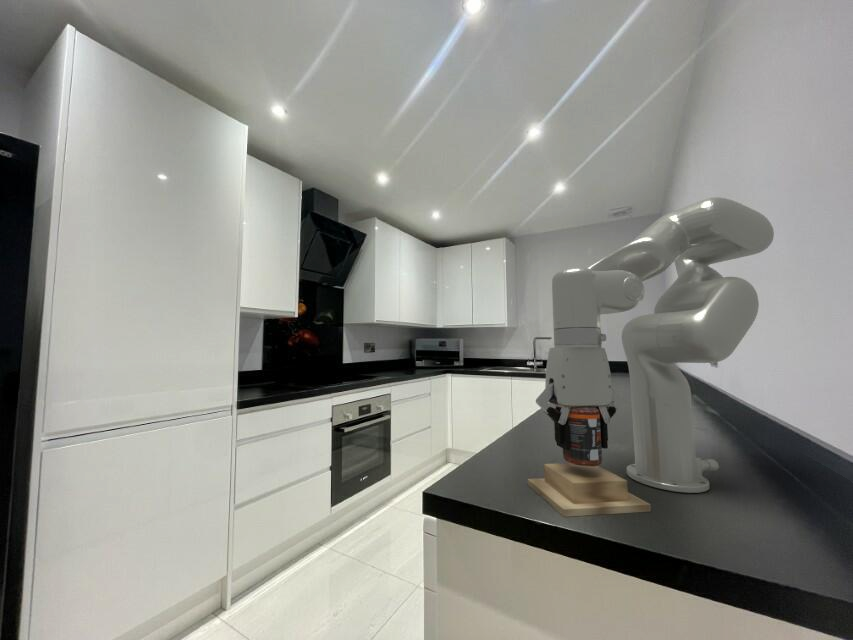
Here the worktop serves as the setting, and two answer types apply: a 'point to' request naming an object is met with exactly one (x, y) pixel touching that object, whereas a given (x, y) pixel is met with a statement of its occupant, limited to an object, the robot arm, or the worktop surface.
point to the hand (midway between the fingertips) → (581, 445)
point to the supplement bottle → (584, 436)
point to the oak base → (586, 507)
